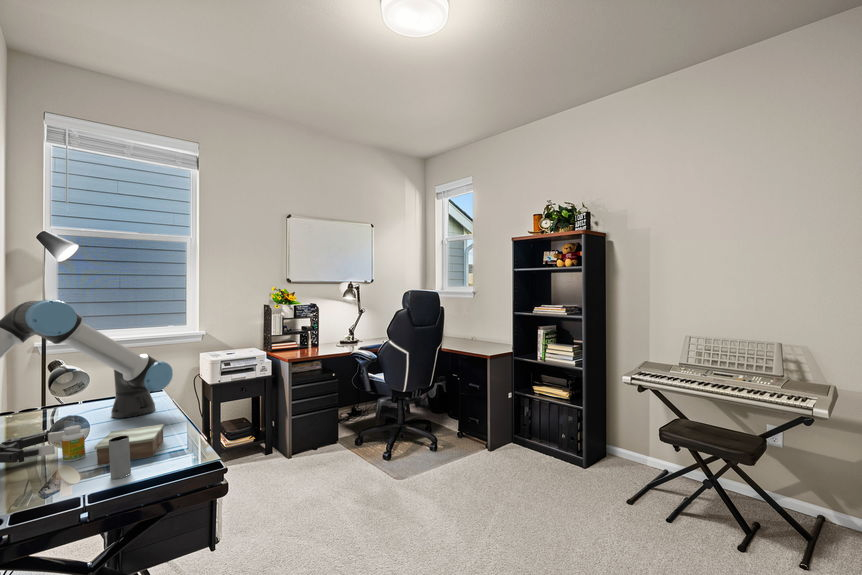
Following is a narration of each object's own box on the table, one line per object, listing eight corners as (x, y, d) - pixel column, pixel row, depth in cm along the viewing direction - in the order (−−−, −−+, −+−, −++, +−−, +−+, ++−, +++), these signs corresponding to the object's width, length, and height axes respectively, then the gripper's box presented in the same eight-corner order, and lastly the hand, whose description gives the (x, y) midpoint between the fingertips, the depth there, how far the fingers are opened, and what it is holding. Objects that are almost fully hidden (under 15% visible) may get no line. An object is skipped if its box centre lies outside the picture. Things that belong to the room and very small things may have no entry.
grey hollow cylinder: (128, 477, 118) (125, 439, 117) (108, 480, 116) (105, 442, 116) (133, 470, 122) (131, 434, 122) (114, 473, 120) (111, 436, 120)
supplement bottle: (70, 463, 130) (68, 430, 130) (58, 461, 132) (56, 429, 131) (89, 456, 135) (87, 424, 135) (78, 454, 137) (76, 423, 137)
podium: (112, 448, 140) (111, 431, 140) (165, 440, 146) (164, 424, 145) (95, 466, 126) (94, 446, 126) (154, 456, 132) (153, 438, 132)
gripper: (-1, 451, 136) (82, 440, 144) (-57, 485, 113) (45, 469, 120) (-2, 428, 136) (80, 417, 144) (-59, 456, 113) (43, 442, 120)
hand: (64, 441), depth 132 cm, fingers open, 13 cm apart
